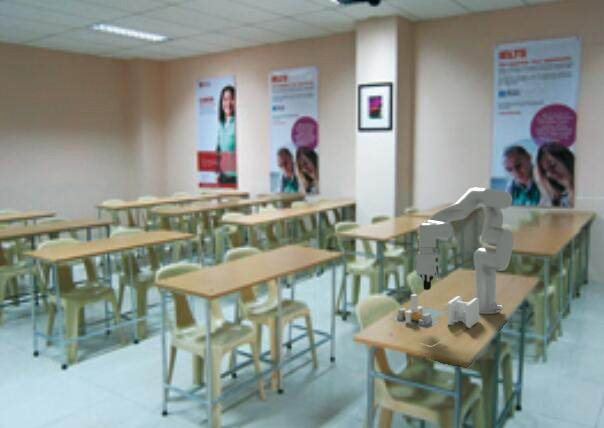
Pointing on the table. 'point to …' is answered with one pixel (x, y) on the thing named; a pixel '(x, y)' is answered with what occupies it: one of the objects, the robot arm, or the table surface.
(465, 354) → the table surface
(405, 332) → the table surface
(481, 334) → the table surface
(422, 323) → the board
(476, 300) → the cable organizer
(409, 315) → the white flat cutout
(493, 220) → the robot arm
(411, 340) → the table surface
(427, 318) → the grey orange bar
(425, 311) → the mat
